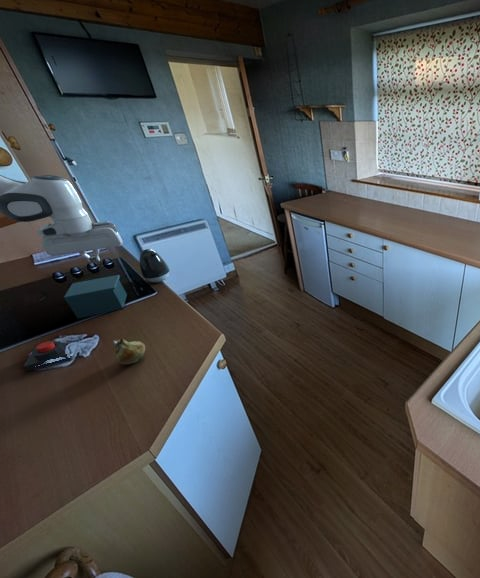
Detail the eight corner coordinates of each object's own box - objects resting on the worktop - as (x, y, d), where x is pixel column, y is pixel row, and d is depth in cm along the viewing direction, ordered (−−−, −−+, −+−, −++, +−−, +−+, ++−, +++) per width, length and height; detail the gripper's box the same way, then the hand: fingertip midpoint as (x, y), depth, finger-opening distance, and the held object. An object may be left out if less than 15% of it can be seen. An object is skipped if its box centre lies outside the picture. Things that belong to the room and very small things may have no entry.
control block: (27, 371, 88) (18, 362, 85) (37, 355, 93) (29, 346, 91) (71, 359, 92) (64, 350, 90) (78, 344, 98) (71, 335, 96)
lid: (120, 276, 120) (119, 274, 120) (115, 289, 112) (114, 287, 111) (73, 284, 114) (72, 283, 113) (64, 299, 105) (63, 297, 105)
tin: (127, 294, 124) (117, 276, 120) (123, 308, 116) (112, 289, 111) (85, 303, 118) (73, 285, 114) (77, 318, 110) (64, 299, 105)
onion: (116, 372, 88) (103, 353, 83) (123, 355, 94) (111, 336, 90) (146, 365, 90) (135, 345, 86) (151, 348, 97) (141, 330, 92)
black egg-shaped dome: (157, 287, 130) (142, 256, 122) (140, 282, 133) (125, 252, 125) (177, 276, 138) (165, 247, 130) (162, 273, 141) (149, 243, 133)
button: (37, 354, 89) (34, 350, 88) (41, 347, 91) (38, 343, 90) (53, 350, 90) (50, 346, 89) (57, 343, 93) (54, 339, 92)
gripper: (114, 218, 108) (130, 252, 115) (37, 226, 98) (60, 263, 106) (112, 223, 103) (128, 258, 110) (30, 232, 94) (55, 270, 101)
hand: (94, 261), depth 108 cm, fingers closed
